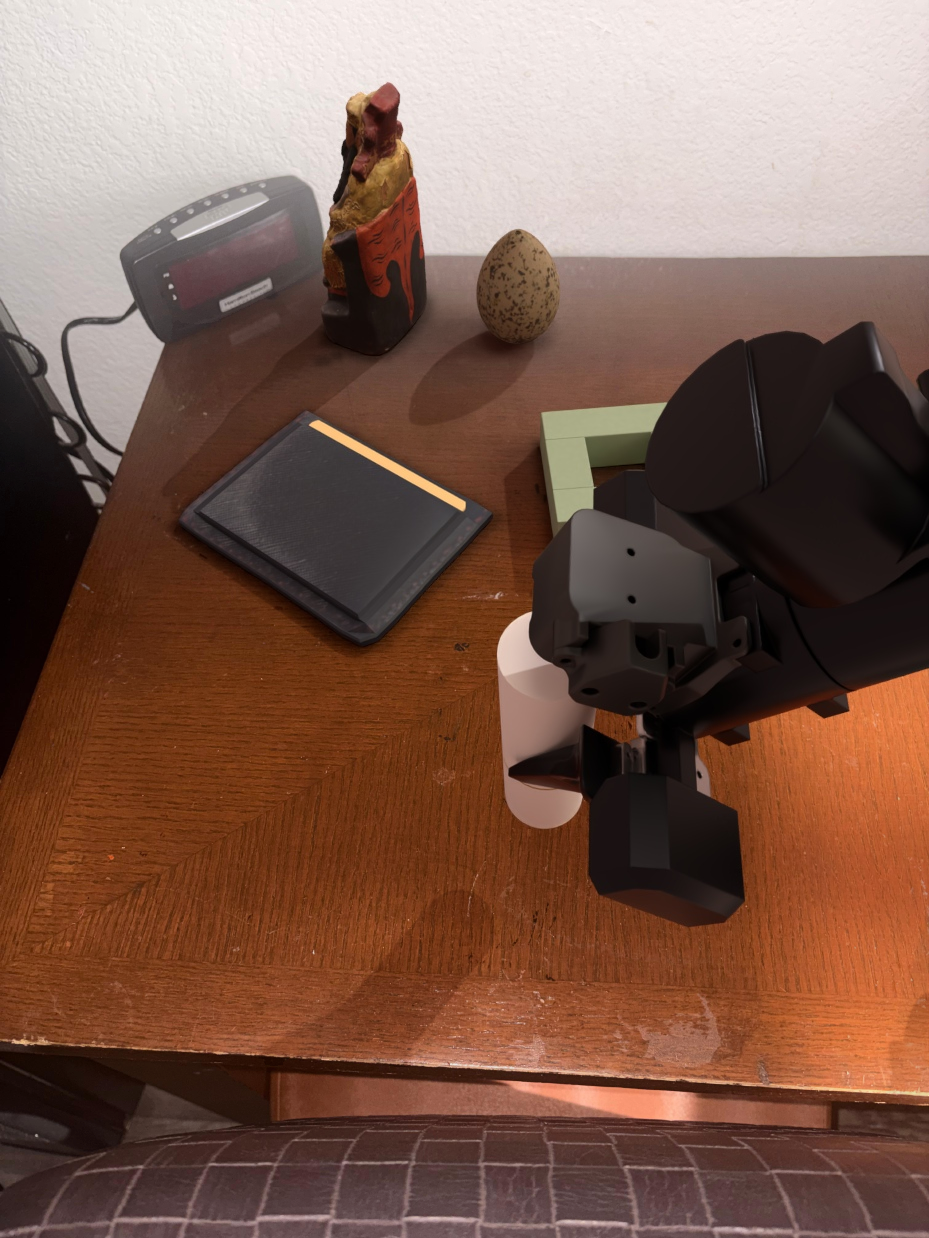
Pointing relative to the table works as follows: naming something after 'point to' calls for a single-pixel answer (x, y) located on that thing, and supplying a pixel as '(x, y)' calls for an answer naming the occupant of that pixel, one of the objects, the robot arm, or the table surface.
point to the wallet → (335, 526)
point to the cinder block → (589, 451)
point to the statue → (374, 232)
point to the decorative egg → (518, 288)
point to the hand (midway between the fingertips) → (517, 729)
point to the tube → (535, 724)
